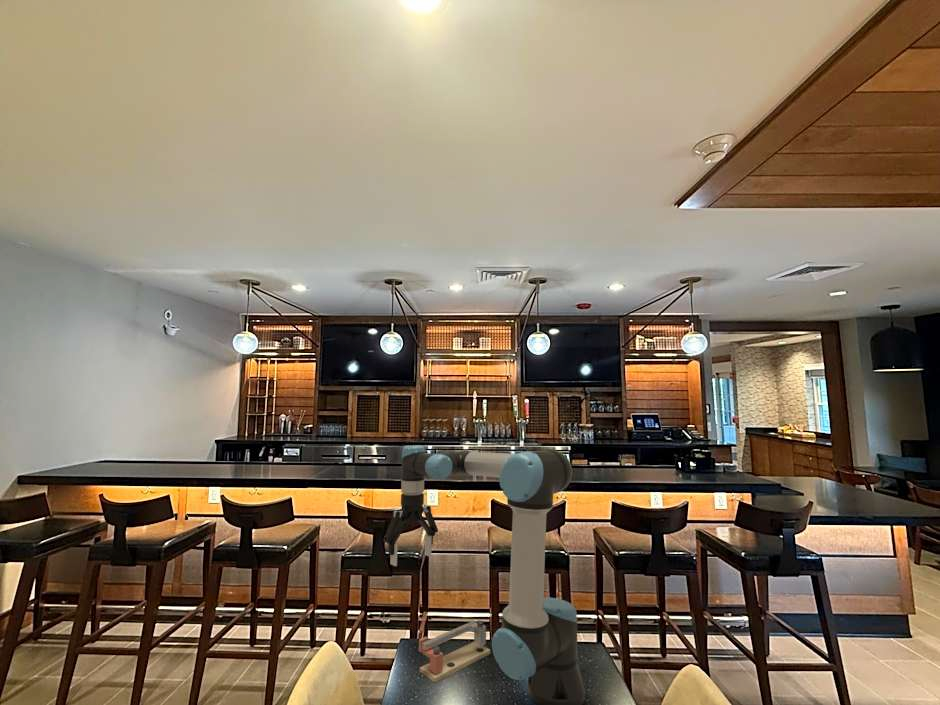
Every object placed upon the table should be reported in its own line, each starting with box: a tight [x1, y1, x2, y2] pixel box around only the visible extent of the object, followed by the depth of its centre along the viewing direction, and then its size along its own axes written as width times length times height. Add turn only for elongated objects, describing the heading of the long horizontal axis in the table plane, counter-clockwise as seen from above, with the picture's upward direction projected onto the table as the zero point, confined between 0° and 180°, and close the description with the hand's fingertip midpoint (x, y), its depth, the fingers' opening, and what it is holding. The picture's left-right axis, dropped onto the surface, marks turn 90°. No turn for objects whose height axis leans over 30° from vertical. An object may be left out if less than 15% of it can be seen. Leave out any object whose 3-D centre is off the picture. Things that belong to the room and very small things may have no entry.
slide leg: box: [418, 636, 444, 674], centre depth 131 cm, size 8×3×6 cm, turn 43°
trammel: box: [422, 620, 487, 651], centre depth 136 cm, size 6×20×8 cm, turn 134°
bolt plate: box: [419, 641, 491, 683], centre depth 136 cm, size 7×22×1 cm, turn 134°
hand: (411, 560), depth 148 cm, fingers open, 13 cm apart
